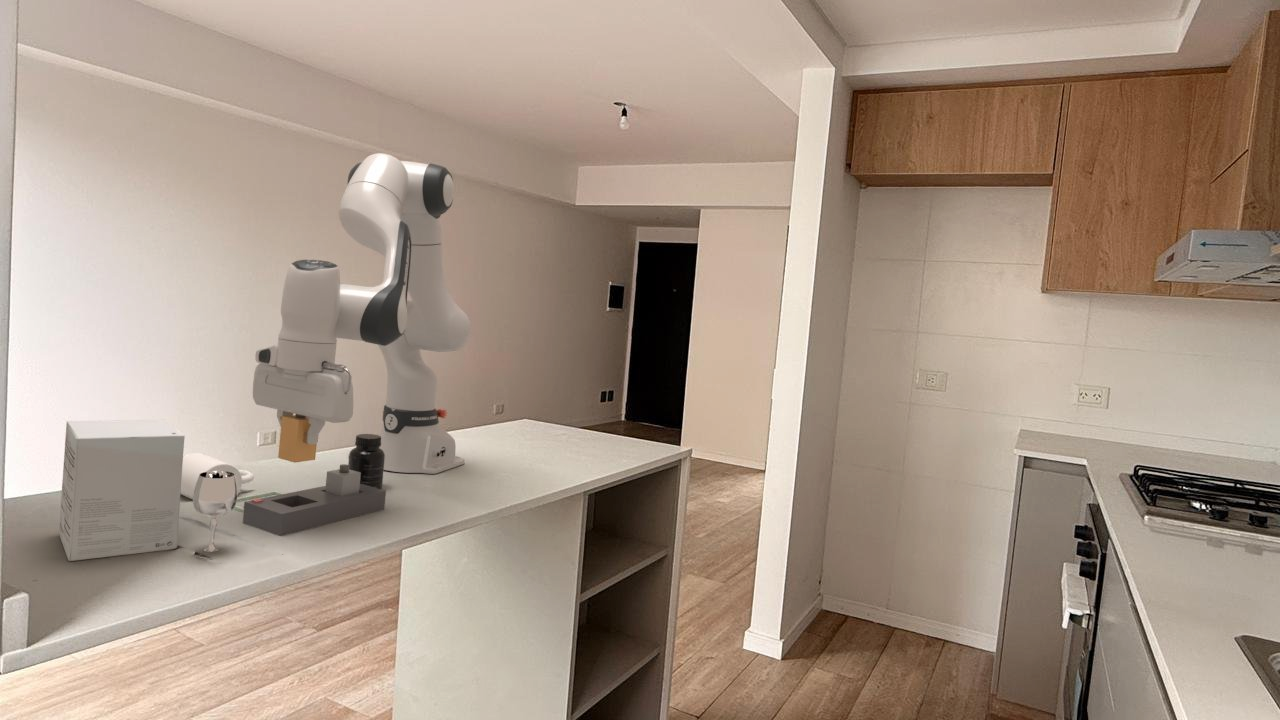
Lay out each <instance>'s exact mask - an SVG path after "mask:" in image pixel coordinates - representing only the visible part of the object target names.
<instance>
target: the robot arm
mask: <svg viewBox="0 0 1280 720" xmlns="http://www.w3.org/2000/svg"><path fill="white" fill-rule="evenodd" d="M345 188H346V189H344V190H345V191H344V192H343V194H342V198H341V200H340V203H339V208H338V217H339V221H340V223H341V226H342V228H343V229H344V231H345V232H346V233H347V234H348V236H350V238H352V239H353V240H354V241H355V242H356V243H359V245H362V246H363V247H366V248H369V249H371V250H373V251H375V252H377V253H379V254H381V255H382V256H384V257H385V258H384V259H385V260H384V267H383V274H382V282H381V283H380V284H378V285H375V286H364V285H356V284H348V283H341V276H340V275H341V274H340V268H339V266H338V264H336V263H334V262H331V261H328V260H319V259H299V260H295V261H294V262H291V264H289V267H288V270H287V272H286V276H285V278H284V279H285V280H284V285H283V290H282V296H281V303H280V305H281V306H280V315H281V318H282V320H281V321H282V322H281V329H280V331H279V334H278V337H277V338H278V339H277V344H273V345H271V346H267V347H262V348H261V349H257V350H256V351H255V356H254V357H255V362H256V363H258V364H257V365H256V367H255V369H254V372H253V373H254V374H253V382H252V398H253V401H254V403H255V404H256V405H257V406H261V407H264V408H269V409H274V410H276V418H277V421H278V424H279V426H280V427H281V421H282V416H292V415H296V414H298V415H303V416H307V417H309V424H311V426H310V428H309V430H308V432H306V433H304V435H303V437H304V439H303V442H304V443H306V444H310V445H311V444H317V443H318V442H319V434H320V433H321V432H322V429H323V428H324V426H325V425H326V422H329V423H332V424H333V423H334V424H337V423H346V422H350V420H351V418H352V417H353V415H354V387H353V380H352V379H353V376H352V373H351V372H350V370H349V369H347V366H346V365H344V364H336V363H335V362H336V352H337V339H343V340H352V341H361V342H364V343H368V344H373V345H377V346H378V347H379V349H380V351H381V354H382V356H383V359H384V361H385V366H386V371H387V372H386V374H387V382H386V383H387V384H386V387H387V388H386V401H385V402H386V403H385V405H384V406H383V410H382V422H383V426H382V427H381V431H380V435H379V436H381V446H380V447H379V448H380V449H381V450H383V452H384V454H385V460H384V471H389V472H395V473H396V472H397V473H405V474H406V473H408V474H410V473H411V474H413V473H414V474H416V473H417V474H427V475H428V474H429V475H430V474H431V475H435V474H438V473H439V474H440V473H441V472H444V471H447V470H450V469H453V468H457V467H459V466H462V465H464V464H465V459H464V458H462V457H459V456H458V455H456V446H457V445H456V440H455V438H454V437H453V436H452V435H451V434H450V433H448V431H446V430H445V428H443V427H442V426H441V424H439V422H440V421H439V418H441V419H446V417H447V414H448V412H447V410H445V409H441V408H439V409H436V408H435V407H436V396H437V387H438V386H437V385H438V379H437V374H436V373H435V371H434V370H432V368H430V367H429V366H428V365H427V364H426V363H425V361H424V359H423V357H422V355H421V351H429V352H434V353H435V352H436V353H446V352H447V353H448V352H458V351H460V350H462V349H463V348H464V347H465V346H466V344H467V343H468V341H469V339H470V337H471V332H472V331H471V329H472V328H471V321H470V319H469V317H468V314H467V313H466V312H465V311H463V310H462V308H460V306H458V304H457V303H456V302H455V300H454V299H453V298H452V295H451V293H450V292H449V290H448V287H447V283H446V281H445V277H444V271H443V270H444V269H443V268H444V267H443V255H442V254H443V251H442V250H443V248H442V246H443V244H442V228H441V227H442V226H441V220H440V218H441V216H442V214H443V215H444V214H445V213H446V212H447V211H449V209H450V208H451V207H452V205H453V201H454V198H455V197H454V195H455V185H454V178H453V175H452V173H450V171H449V170H448V169H447V167H445V166H442V165H439V164H436V163H429V164H427V163H423V162H418V161H417V162H416V161H410V160H409V161H407V160H400V159H399V158H397V157H396V156H393V155H392V154H388V153H381V152H378V153H377V152H375V153H373V154H370V155H368V156H366V158H364V159H363V160H362V161H361V162H358V163H356V164H355V165H354V166H353V167H352V168H351V169H350V171H349V173H348V176H347V186H346V187H345ZM408 294H409V296H410V298H411V300H408ZM317 445H318V444H317Z"/></svg>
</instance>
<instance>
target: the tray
mask: <svg viewBox="0 0 1280 720" xmlns="http://www.w3.org/2000/svg"><path fill="white" fill-rule="evenodd" d="M281 494H286V493H284V492H281V491H278V490H272V491H267V492H262V493H257V494H251V495H250V494H249V495H246V496H245V495H244V496H240V497H237V502H236V503H239V502H246V501H251V500H254V499H261V498H266V497H271V496H276V495H281ZM232 510H233V511H237V512H240V513H244V507H241V506H238V505H235V507H234V508H233V509H232Z"/></svg>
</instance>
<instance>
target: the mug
mask: <svg viewBox="0 0 1280 720" xmlns="http://www.w3.org/2000/svg"><path fill="white" fill-rule="evenodd" d="M208 471H227V472H232V473H234V474H235V478H236V483H237V493H238V494H237V496H238V495H239V493H240V492H241V489H242V485H243V484H249V483H250V482H253V481H254V479H255V477H254V476H255V475H254V474H253V473H252V472H251V471H249V470H247V469H246V470H245V469H238V468H237V467H236V466H234V465H233V464H230V463H228V462H225V461H223V460H221V459H217V458H215V457H213V456H210V455H207V454H205V453H202V452H191V453H187V454H185V455H183V464H182V479H181V494H180V496H184V497H185V498H188V499H190V500H192V501H193V494H194V489H195V485H196V483H197V480H198V477H199V474H200V473H203V472H208Z"/></svg>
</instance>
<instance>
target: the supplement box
mask: <svg viewBox="0 0 1280 720" xmlns="http://www.w3.org/2000/svg"><path fill="white" fill-rule="evenodd" d="M185 438H186V437H185V435H184V434H183V433H182V432H181V431H179V429H177V428H176V427H175V426H174V425H173V424H171V423H170V422H169V421H168V420H166V419H165V418H164V419H162V418H161V419H127V420H126V419H123V420H122V419H120V420H119V419H117V420H116V419H115V420H66V425H65V440H64V441H65V442H64V455H63V468H62V469H63V470H62V480H61V481H62V485H61V495H60V496H61V500H60V512H59V529H58V530H59V531H58V532H59V533H58V535H59V538H60V541H61V544H62V547H63V550H64V552H65V554H66V557H67V560H68V561H69V562H74V561H82V560H84V561H85V560H91V559H92V560H93V559H101V558H109V557H117V556H126V555H133V554H142V553H152V552H160V551H161V552H162V551H167V550H168V551H169V550H174V549H177V548H178V538H179V526H180V525H179V522H180V507H181V479H182V464H183V456H184V448H185Z"/></svg>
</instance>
